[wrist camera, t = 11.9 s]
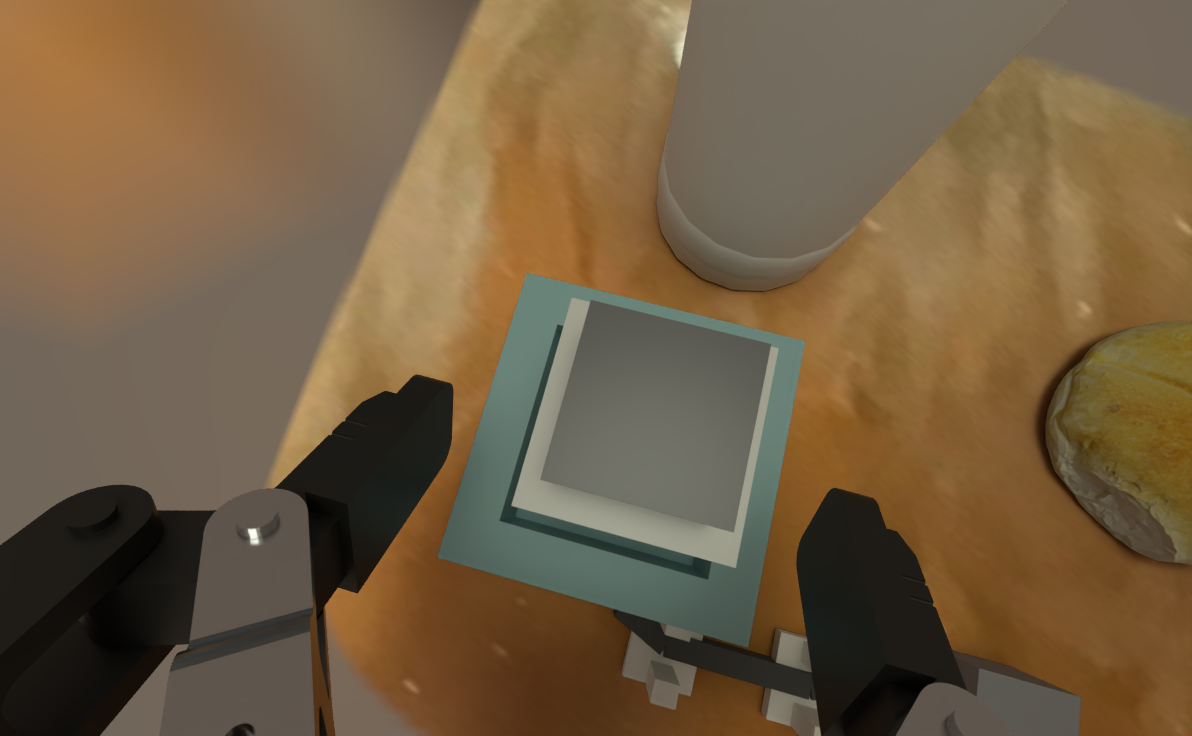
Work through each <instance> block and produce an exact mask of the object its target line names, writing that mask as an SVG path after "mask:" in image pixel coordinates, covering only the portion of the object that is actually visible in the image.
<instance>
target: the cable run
mask: <svg viewBox="0 0 1192 736" xmlns="http://www.w3.org/2000/svg"><path fill="white" fill-rule="evenodd" d="M614 616H615V617H616V618H618V619H619V620H620V621H621V622H622V623H623V624H624V625H626V626H627V627H628V628H629V629H630V630H631V633H630V637H629V642H628V646H627V650H626V654H625V659H624V663H623V667H622V676H624V677H627V678H630V679H634V680H637V681H640V682H644V683H646V687H647V692H648V696H649V701H650V703H652V704H655V705H659V706H662V707H665V708H669V709H672V710H675V709H676V704H677V700H678V695H679V693H680V694H684V695H687V696H690V697H691V692H692V687H693V682H694V678H695V673H696V668H697V667H699V668H702V669H705V670H709V671H712V672H716V673H719V674H722V675H726V676H729V677H733V678H736V679H739V680H743V681H746V682H750V683H753V684H756V685H760V686H763V687H765V692H764V698H763V703H762V709H761V713H762V714H763V715H764V717H765V718H766V719H767V720H771V721H774V722H777V723H781V724H784V725H787V726H791V727H792V728H793V729H794V730H795V732H796V733H797V734H798V735H799V736H821V733H820V726H819V719H818V712H817V705H816V698H815V691H814V684H813V677H812V670H811V663H810V657H809V650H808V643H807V637H806V636H803V635H799V634H796V633H792V632H789V631H785V630H782V629H778V628H776V630H775V636H774V641H773V647H772V653H771V657H768V656H765V655H761V654H758V653H754V652H751V651H747V650H744V649H741V648H737V647H734V646H730V645H727V644H723V643H720V642H716V641H713V640H710V639H706V638H703V635H702V634H699V633H695V632H692V631H688V630H685V629H681V628H678V627H674V626H671V625H668V624H664V623H661V622H657V621H654V620H650V619H647V618H643V617H640V616H636V615H633V614H630V613H626V612H623V611H619V610H616V609H614ZM952 652H953V654H954V657H955V659H956V662H957V665H958V667H959V670H960V672H961V675H962V678H963V680H964V683H965V686H966V688H967V690H968V692H970V693H971V694H973V695H975V696H976V697H977V698H979V699H980V700H982V701H983V702H984V703H985V704H986V705H988V706H989V707H990V708H991V709H992V710H993V711H994V712H995V713H996V714H997V715H998V716H999V717H1000V718H1001V720H1002V721H1003V722H1004V723H1005V724H1006V726H1007V727H1008V728H1009V730H1010V731H1011V733H1012V734H1013V736H1079V724H1080V707H1081V697H1080V696H1077V695H1075V694H1073V693H1070V692H1068V691H1066V690H1063V689H1061V688H1059V687H1056V686H1054V685H1052V684H1049V683H1047V682H1045V681H1043V680H1040V679H1038V678H1036V677H1033V676H1031V675H1029V674H1026V673H1024V672H1022V671H1019V670H1017V669H1015V668H1013V667H1009V666H1006V665H1002V664H999V663H995V662H992V661H988V660H985V659H981V658H978V657H974V656H971V655H967V654H963V653H960V652H956V651H953V650H952Z"/></svg>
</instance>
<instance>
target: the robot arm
mask: <svg viewBox="0 0 1192 736" xmlns="http://www.w3.org/2000/svg"><path fill="white" fill-rule="evenodd" d="M452 416H453V386H452V384H451V383H448V382H444V381H440V380H436V379H433V378H429V377H425V376H422V375H414V376H413V377H412V378H411V379H410V380H409V381H408V382H407V383H406V384H405V385H404V386H403V387H402V388H401V389H400V390H399V392H398V393H397V394H396V393H392V392H388V391H384V392H382V393H380V394H378V395H376V396H374V397H372V398H370V399H368V400H366V401H363V402H362V403H361V404H360V405H359V406H358V407H357V408H356V409H355V410H354V411H353V412H352V413H351V414H350V415H349V416H348V417H347V418H346V420H345V422H342V423H341V424H340V425H338V426H337V427H336V428H335V429H334V430H333V431H332V435H328V436H327V437H326V438H325V439H324V440H323V441H322V442H321V443H320V444H319V445H318V446H317V447H316V448H315V449H314V450H313V451H312V452H311V453H310V454H309V455H308V456H307V457H306V458H305V459H304V460H303V461H302V462H301V463H300V464H299V465H298V466H297V467H296V468H295V469H294V470H293V471H292V472H291V473H290V474H289V475H288V476H287V477H286V478H285V479H284V480H283V481H282V482H281V483H280V484H279V485H278V486H276V487H275V488H274V489H260V490H256V491H251V492H248V493H245V494H242V495H240V496H238V497H236V498H233V499H232V500H230V501H228V502H227V503H225V504H224V505H223V506H221V507H220V508H219V509H218V510H214V511H159V510H158V511H157V509H156V506H155V504H154V501H153V499H152V497H151V495H150V494H149V493H148V492H147V491H145V490H143V489H141V488H139V487H136V486H130V485H110V486H104V487H98V488H94V489H90V490H87V491H84V492H81V493H78V494H76V495H74V496H71V497H69V498H67V499H65V500H63V501H62V502H60V503H58V504H56V505H55V506H53V507H52V508H50V509H49V510H47V511H46V512H45V513H43V514H42V515H41V516H39V517H38V518H37V519H35V520H34V521H33V522H31V523H30V524H29V525H27V526H26V527H25V528H23V529H22V530H20V531H19V532H18V533H17V534H15V535H14V536H12V537H11V538H10V539H8V540H7V541H6V542H4V543H3V544H2V545H0V736H100V735H101V733H102V732H103V731H104V730H105V729H106V728H107V726H108V725H109V724H110V723H111V721H112V720H113V719H114V718H115V717H116V716H117V715H118V713H119V712H120V711H121V710H122V709H123V707H124V706H125V705H126V704H127V703H128V701H129V700H130V699H131V698H132V697H133V695H134V694H135V693H136V692H137V691H138V689H139V688H140V687H141V685H143V684H144V682H145V681H146V680H147V679H148V678H149V676H150V675H151V674H152V673H153V672H154V670H155V669H156V668H157V667H158V666H159V664H160V663H161V662H162V661H163V660H164V658H165V657H166V656H167V655H168V654H169V652H170V651H171V650H172V649H173V648H174V647H175V645H179V644H189V645H188V648H187V650H185V651H182V652H179V653H177V654H176V656H175V658H174V660H173V662H172V665H171V669H170V673H169V678H168V684H167V691H166V698H165V704H164V710H163V717H162V724H161V730H160V736H335V728H334V720H333V710H332V698H331V683H330V669H329V655H328V641H327V627H326V613H325V605H326V603H327V602H328V600H329V599H330V598H331V596H332V595H333V593H334V592H335V591H336V589H337V588H342V589H345V590H348V591H351V592H355V593H358V592H359V591H360V589H361V588H362V586H363V585H364V583H365V582H366V580H367V579H368V577H369V576H370V574H371V573H372V571H373V570H374V568H375V567H376V565H377V564H378V562H379V561H380V559H381V558H382V556H383V555H384V553H385V552H386V550H387V549H388V547H389V546H390V544H391V543H392V541H393V540H394V538H395V537H396V535H397V534H398V532H399V531H400V529H401V528H402V526H403V525H404V523H405V522H406V520H407V519H408V517H409V516H410V514H411V513H412V511H413V510H414V508H415V507H416V505H417V504H418V502H419V501H420V499H421V498H422V496H423V495H424V493H425V492H426V490H427V489H428V487H429V486H430V484H431V483H432V481H433V480H434V478H435V477H436V475H437V474H438V472H439V471H440V469H441V468H442V466H443V464H444V462H445V460H446V458H447V456H448V453H449V449H450V446H451V440H452ZM796 565H797V574H798V581H799V587H800V594H801V601H802V608H803V615H804V622H805V629H806V636H807V643H808V650H809V657H810V663H811V670H812V677H813V684H814V691H815V698H816V705H817V712H818V719H819V726H820V733H821V736H1013V734H1012V733H1011V731H1010V730H1009V728H1008V727H1007V726H1006V724H1005V723H1004V722H1003V721H1002V720H1001V718H1000V717H999V716H998V715H997V714H996V713H995V712H994V711H993V710H992V709H991V708H990V707H989V706H988V705H986V704H985V703H984V702H983V701H982V700H980V699H979V698H977V697H976V696H975V695H973V694H971V693H970V692H968V690H967V688H966V686H965V683H964V680H963V678H962V675H961V672H960V670H959V667H958V665H957V662H956V659H955V657H954V654H953V652H952V649H951V646H950V644H949V641H948V639H947V636H946V633H945V631H944V628H943V625H942V623H941V620H940V618H939V615H938V612H937V610H936V608H935V607H933V599H932V597H931V594H930V591H929V589H928V586H925V578H924V576H923V573H922V571H921V568H920V565H919V563H918V560H917V557H916V555H915V554H914V553H913V552H912V550H911V549H910V548H909V546H908V545H907V544H906V543H905V541H904V540H903V539H902V537H901V536H900V535H899V534H898V532H897V531H893V530H890V529H886V526H885V523H884V521H883V518H882V515H881V512H880V509H879V506H878V504H877V502H876V500H875V499H874V498H871V497H867V496H864V495H860V494H856V493H853V492H849V491H845V490H841V489H838V488H833V489H831V490H830V491H829V492H828V493H827V495H826V496H825V498H824V500H823V501H822V503H821V505H820V507H819V508H818V510H817V512H816V513H815V515H814V517H813V519H812V520H811V522H810V524H809V525H808V527H807V529H806V531H805V532H804V534H803V536H802V538H801V540H800V543H799V547H798V551H797V560H796Z"/></svg>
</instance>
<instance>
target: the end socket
mask: <svg viewBox="0 0 1192 736" xmlns="http://www.w3.org/2000/svg"><path fill="white" fill-rule="evenodd" d="M572 298H576V299H580V300H584V301H588V302H590V301H591V300H594V301H598V302H602V303H606V304H610V305H614V306H618V307H622V308H626V309H630V310H635V311H639V312H643V313H647V314H651V315H655V316H659V317H663V318H667V319H671V320H675V321H679V322H683V323H687V324H692V325H696V326H700V327H704V328H708V329H712V330H716V331H720V332H724V333H728V334H732V335H736V336H740V337H745V338H749V339H753V340H757V341H761V342H765V343H769V344H771V347H775V348H779V349H778V355H777V360H776V365H775V370H774V375H773V380H772V385H771V390H770V395H769V401H768V406H767V411H766V416H765V421H764V426H763V431H762V436H761V441H760V447H759V452H758V457H757V462H756V467H755V472H754V477H753V482H752V487H751V493H750V498H749V503H748V508H747V513H746V518H745V523H744V528H743V533H742V539H741V544H740V549H739V554H738V559H737V564H736V568H734V567H730V566H726V565H723V564H719V563H716V562H712V561H708V560H705V559H701V558H698V557H694V556H690V555H687V554H683V553H680V552H676V551H673V550H669V549H665V548H662V547H658V546H655V545H651V544H647V543H644V542H640V541H637V540H633V539H629V538H626V537H622V536H619V535H615V534H611V533H608V532H604V531H601V530H597V529H593V528H590V527H586V526H583V525H579V524H575V523H572V522H568V521H565V520H561V519H557V518H554V517H550V516H547V515H543V514H539V513H536V512H532V511H529V510H525V509H521V508H518V507H514V506H511V505H512V502H513V498H514V495H515V491H516V488H517V485H518V481H519V478H520V474H521V471H522V467H523V464H524V461H525V457H526V454H527V450H528V447H529V443H530V440H531V436H532V433H533V430H534V426H535V423H536V419H537V416H538V412H539V409H540V406H541V402H542V399H543V395H544V392H545V388H546V385H547V382H548V378H549V375H550V371H551V368H552V364H553V361H554V358H555V354H556V351H557V347H558V344H559V340H560V337H561V333H562V330H563V327H564V323H565V320H566V316H567V313H568V309H569V306H570V303H571V299H572ZM804 345H805V341H803V340H799V339H795V338H791V337H786V336H782V335H778V334H774V333H770V332H766V331H762V330H758V329H754V328H750V327H746V326H742V325H738V324H733V323H729V322H725V321H721V320H717V319H713V318H709V317H705V316H701V315H697V314H693V313H689V312H684V311H680V310H676V309H672V308H668V307H664V306H660V305H656V304H652V303H648V302H644V301H640V300H636V299H631V298H627V297H623V296H619V295H615V294H611V293H607V292H603V291H599V290H595V289H591V288H587V287H583V286H578V285H574V284H570V283H566V282H562V281H558V280H554V279H550V278H546V277H542V276H538V275H534V274H530V273H527V275H526V278H525V281H524V284H523V287H522V290H521V294H520V297H519V300H518V303H517V306H516V309H515V313H514V316H513V319H512V322H511V325H510V328H509V332H508V335H507V338H506V341H505V344H504V347H503V351H502V354H501V357H500V360H499V363H498V366H497V370H496V373H495V376H494V379H493V382H492V385H491V389H490V392H489V395H488V398H487V401H486V404H485V408H484V411H483V414H482V417H481V420H480V423H479V427H478V430H477V433H476V436H475V439H474V442H473V446H472V449H471V452H470V455H469V458H468V461H467V465H466V468H465V471H464V474H463V477H462V480H461V483H460V487H459V490H458V493H457V496H456V499H455V502H454V506H453V509H452V512H451V515H450V518H449V521H448V525H447V528H446V531H445V534H444V537H443V540H442V544H441V547H440V550H439V553H438V556H437V558H440V559H443V560H447V561H450V562H454V563H457V564H461V565H464V566H468V567H471V568H474V569H478V570H481V571H485V572H488V573H492V574H495V575H499V576H502V577H505V578H509V579H512V580H516V581H519V582H523V583H526V584H530V585H533V586H536V587H540V588H543V589H547V590H550V591H554V592H557V593H561V594H564V595H568V596H571V597H574V598H578V599H581V600H585V601H588V602H592V603H595V604H599V605H602V606H605V607H609V608H612V609H616V610H619V611H623V612H626V613H630V614H633V615H636V616H640V617H643V618H647V619H650V620H654V621H657V622H661V623H664V624H668V625H671V626H674V627H678V628H681V629H685V630H688V631H692V632H695V633H699V634H702V635H705V636H709V637H712V638H716V639H719V640H723V641H726V642H730V643H733V644H736V645H740V646H743V647H747V648H748V645H749V640H750V635H751V629H752V624H753V619H754V613H755V608H756V602H757V597H758V592H759V586H760V581H761V576H762V570H763V565H764V560H765V554H766V549H767V543H768V538H769V533H770V527H771V522H772V517H773V511H774V506H775V500H776V495H777V490H778V484H779V479H780V474H781V468H782V463H783V458H784V452H785V447H786V441H787V436H788V431H789V425H790V420H791V415H792V409H793V404H794V398H795V393H796V388H797V382H798V377H799V372H800V366H801V361H802V356H803V350H804Z"/></svg>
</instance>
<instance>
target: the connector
mask: <svg viewBox="0 0 1192 736" xmlns="http://www.w3.org/2000/svg"><path fill="white" fill-rule="evenodd" d="M778 349H779V348H775V347H771V344H769V343H765V342H761V341H757V340H753V339H749V338H745V337H740V336H736V335H732V334H728V333H724V332H720V331H716V330H712V329H708V328H704V327H700V326H696V325H692V324H687V323H683V322H679V321H675V320H671V319H667V318H663V317H659V316H655V315H651V314H647V313H643V312H639V311H635V310H630V309H626V308H622V307H618V306H614V305H610V304H606V303H602V302H598V301H594V300H591V301H590V302H588V301H584V300H580V299H576V298H572V299H571V303H570V306H569V309H568V313H567V316H566V320H565V323H564V327H563V330H562V333H561V337H560V340H559V344H558V347H557V351H556V354H555V358H554V361H553V364H552V368H551V371H550V375H549V378H548V382H547V385H546V388H545V392H544V395H543V399H542V402H541V406H540V409H539V412H538V416H537V419H536V423H535V426H534V430H533V433H532V436H531V440H530V443H529V447H528V450H527V454H526V457H525V461H524V464H523V467H522V471H521V474H520V478H519V481H518V485H517V488H516V491H515V495H514V498H513V502H512V505H511V506H514V507H518V508H521V509H525V510H529V511H532V512H536V513H539V514H543V515H547V516H550V517H554V518H557V519H561V520H565V521H568V522H572V523H575V524H579V525H583V526H586V527H590V528H593V529H597V530H601V531H604V532H608V533H611V534H615V535H619V536H622V537H626V538H629V539H633V540H637V541H640V542H644V543H647V544H651V545H655V546H658V547H662V548H665V549H669V550H673V551H676V552H680V553H683V554H687V555H690V556H694V557H698V558H701V559H705V560H708V561H712V562H716V563H719V564H723V565H726V566H730V567H734V568H736V564H737V559H738V554H739V549H740V544H741V539H742V533H743V528H744V523H745V518H746V513H747V508H748V503H749V498H750V493H751V487H752V482H753V477H754V472H755V467H756V462H757V457H758V452H759V447H760V441H761V436H762V431H763V426H764V421H765V416H766V411H767V406H768V401H769V395H770V390H771V385H772V380H773V375H774V370H775V365H776V360H777V355H778Z"/></svg>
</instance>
